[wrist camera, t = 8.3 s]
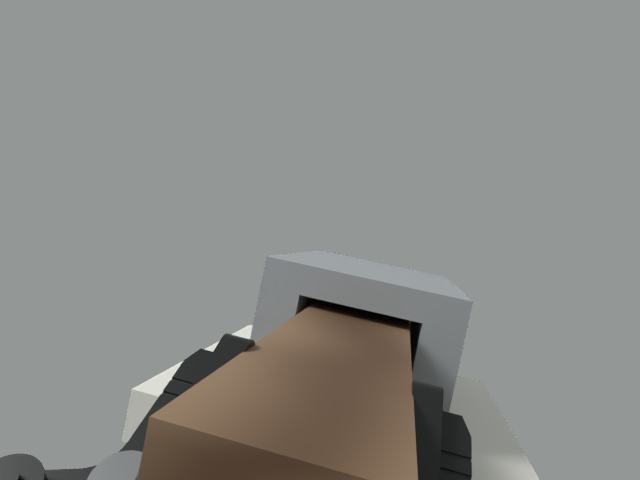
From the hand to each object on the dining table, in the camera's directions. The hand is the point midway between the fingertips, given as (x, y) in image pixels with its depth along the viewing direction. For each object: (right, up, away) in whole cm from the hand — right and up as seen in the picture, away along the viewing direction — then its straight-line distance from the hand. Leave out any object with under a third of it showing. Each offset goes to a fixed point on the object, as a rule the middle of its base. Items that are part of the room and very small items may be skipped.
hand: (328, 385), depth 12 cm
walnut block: (0, -3, +7) cm, 7 cm away
